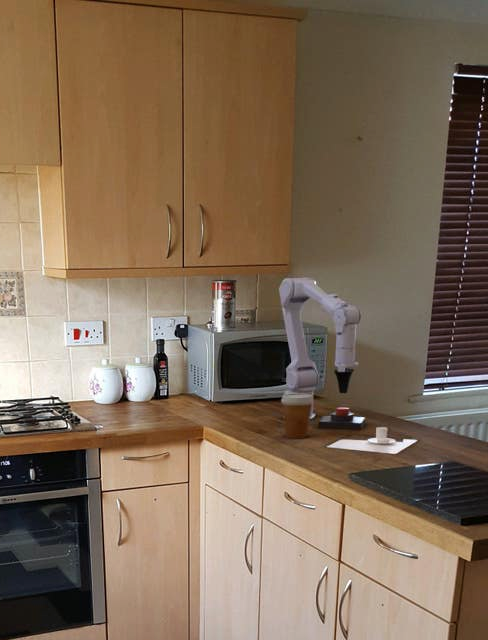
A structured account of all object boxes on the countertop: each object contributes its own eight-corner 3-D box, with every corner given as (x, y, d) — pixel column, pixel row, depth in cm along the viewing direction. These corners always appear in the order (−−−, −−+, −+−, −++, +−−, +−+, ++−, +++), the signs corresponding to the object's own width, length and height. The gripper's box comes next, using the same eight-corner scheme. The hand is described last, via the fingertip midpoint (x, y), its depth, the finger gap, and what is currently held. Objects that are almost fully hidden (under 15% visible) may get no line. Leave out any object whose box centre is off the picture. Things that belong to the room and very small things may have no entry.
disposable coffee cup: (314, 433, 264) (316, 393, 260) (309, 440, 255) (310, 398, 251) (283, 432, 267) (284, 392, 263) (277, 438, 258) (277, 397, 254)
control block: (318, 428, 271) (318, 415, 270) (323, 422, 280) (323, 410, 279) (360, 430, 267) (361, 417, 266) (364, 424, 276) (365, 411, 275)
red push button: (334, 415, 271) (335, 409, 271) (336, 413, 275) (337, 407, 274) (347, 416, 270) (348, 409, 269) (349, 414, 274) (349, 407, 273)
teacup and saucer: (389, 446, 244) (390, 432, 243) (362, 444, 248) (362, 429, 247) (399, 441, 251) (400, 426, 250) (372, 438, 255) (373, 424, 254)
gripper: (355, 350, 258) (353, 396, 262) (361, 345, 271) (359, 389, 275) (331, 350, 260) (329, 396, 265) (338, 345, 273) (336, 389, 277)
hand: (343, 392), depth 270 cm, fingers closed
